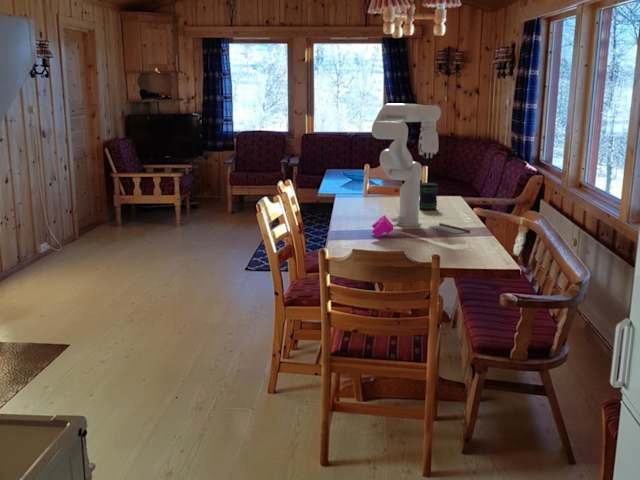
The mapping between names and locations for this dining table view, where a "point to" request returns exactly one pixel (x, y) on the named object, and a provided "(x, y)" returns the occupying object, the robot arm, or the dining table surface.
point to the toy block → (382, 226)
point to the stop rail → (454, 227)
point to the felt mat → (447, 229)
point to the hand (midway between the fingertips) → (427, 165)
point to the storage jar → (428, 196)
